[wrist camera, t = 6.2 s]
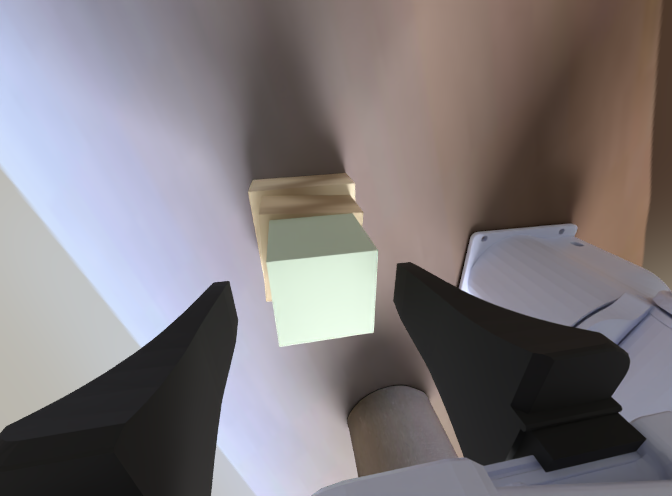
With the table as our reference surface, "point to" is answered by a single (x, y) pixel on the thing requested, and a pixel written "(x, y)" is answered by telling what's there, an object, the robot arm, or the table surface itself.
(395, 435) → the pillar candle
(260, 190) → the base slab
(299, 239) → the sage cube
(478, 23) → the table surface
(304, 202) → the beige square block
